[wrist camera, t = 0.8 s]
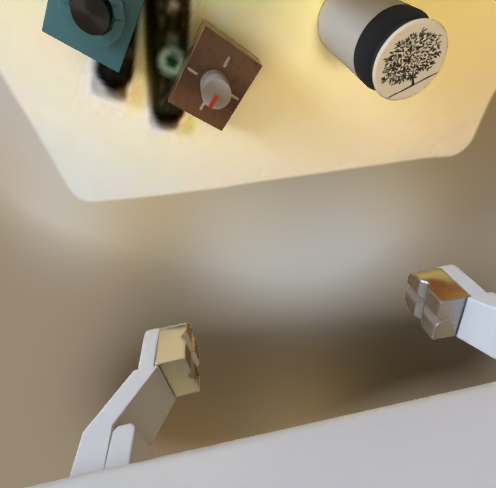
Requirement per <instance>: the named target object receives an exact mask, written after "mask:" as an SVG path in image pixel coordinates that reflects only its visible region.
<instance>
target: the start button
mask: <svg viewBox="0 0 496 488" xmlns="http://www.w3.org/2000/svg"><path fill="white" fill-rule="evenodd" d="M70 11H71V15H72V18H73V20H74V22H75V23H76V25H77V26H78V27H79V28H80V29H81V30H83V31H84V32H85V33H87V34H90V35H95V36H98V35H102V34H104V33H105V32H106V31H107V30H108V28H109V26H110V24H111V20H112V13H111V9H110V6H109V4H108V3H107V1H106V0H71V3H70Z"/></svg>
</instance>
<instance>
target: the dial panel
mask: <svg viewBox="0 0 496 488" xmlns="http://www.w3.org/2000/svg"><path fill="white" fill-rule="evenodd" d="M261 67H262V65H261V63H260V61H259V59H258V58H257V57H255V56H254V55H252V54H251V53H250V52H248V51H247V50H246V49H244V48H243V47H241V46H240V45H239V44H237V43H236V42H234V41H233V40H232V39H230V38H229V37H228V36H226V35H225V34H223V33H222V32H221V31H219V30H218V29H217V28H215V27H214V26H212V25H211V24H210V23H208V22H207V21H205V20H204V19H203V21H202V23H201V25H200V27H199V30H198V32H197V34H196V36H195V38H194V40H193V42H192V44H191V46H190V49H189V51H188V53H187V55H186V57H185V59H184V61H183V63H182V66H181V68H180V70H179V72H178V74H177V76H176V78H175V80H174V82H173V85H172V87H171V89H170V91H169V93H168V102H169V103H171V104H173V105H175V106H177V107H178V108H180V109H182V110H184V111H186V112H188V113H190V114H191V115H193V116H195V117H197V118H199V119H201V120H203V121H204V122H206V123H208V124H210V125H212V126H214V127H215V128H217V129H219V130H221V131H222V130H223V128H224V127H225V125H226V123H227V122H228V120H229V119H230V117H231V115H232V114H233V112H234V111H235V109H236V107H237V106H238V104H239V103H240V101H241V99H242V98H243V96H244V94H245V93H246V91H247V90H248V88H249V86H250V85H251V83H252V82H253V80H254V78H255V77H256V75H257V74H258V72H259V70H260V69H261ZM212 69H216V70H220V71H222V72H223V73H224V74H225V75H226V77H227V79H228V82H229V85H230V88H231V93H232V95H231V100H230V102H229V103H228V105H227V106H225V107H224V108H222V109H210V108H208V106H207V105H206V104H205V103H204V101H203V99H202V95H201V88H200V81H201V78H202V76H203V75H204V73H205V72H207V71H209V70H212Z"/></svg>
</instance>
